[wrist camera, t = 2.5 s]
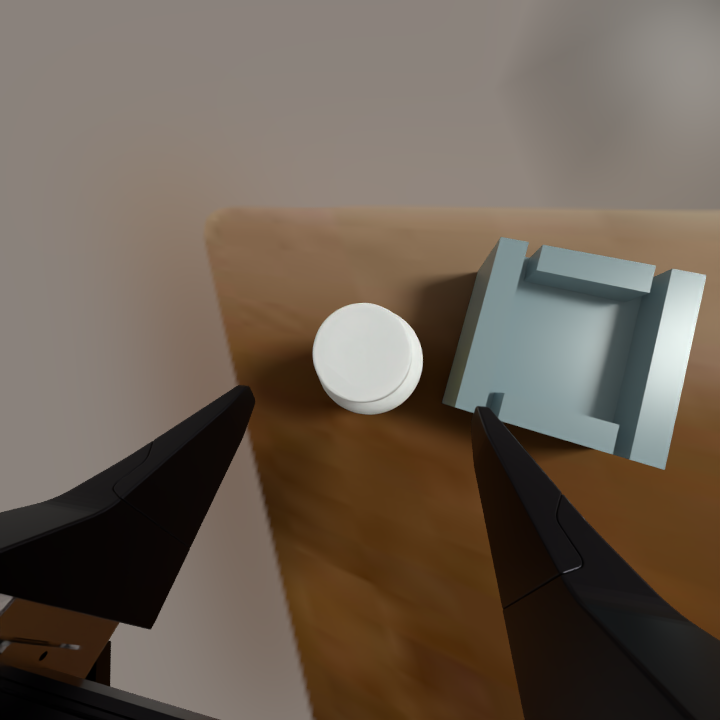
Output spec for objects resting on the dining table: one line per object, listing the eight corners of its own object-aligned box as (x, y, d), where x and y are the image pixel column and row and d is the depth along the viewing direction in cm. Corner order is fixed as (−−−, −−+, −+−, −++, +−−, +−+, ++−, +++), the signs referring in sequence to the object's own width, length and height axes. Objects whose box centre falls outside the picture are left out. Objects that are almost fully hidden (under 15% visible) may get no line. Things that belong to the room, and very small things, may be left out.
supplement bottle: (373, 421, 19) (348, 451, 10) (329, 365, 20) (269, 345, 11) (430, 374, 19) (460, 360, 10) (383, 320, 20) (369, 259, 11)
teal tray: (596, 449, 17) (664, 469, 13) (441, 403, 19) (454, 407, 14) (630, 303, 18) (706, 275, 13) (477, 271, 20) (500, 237, 15)
